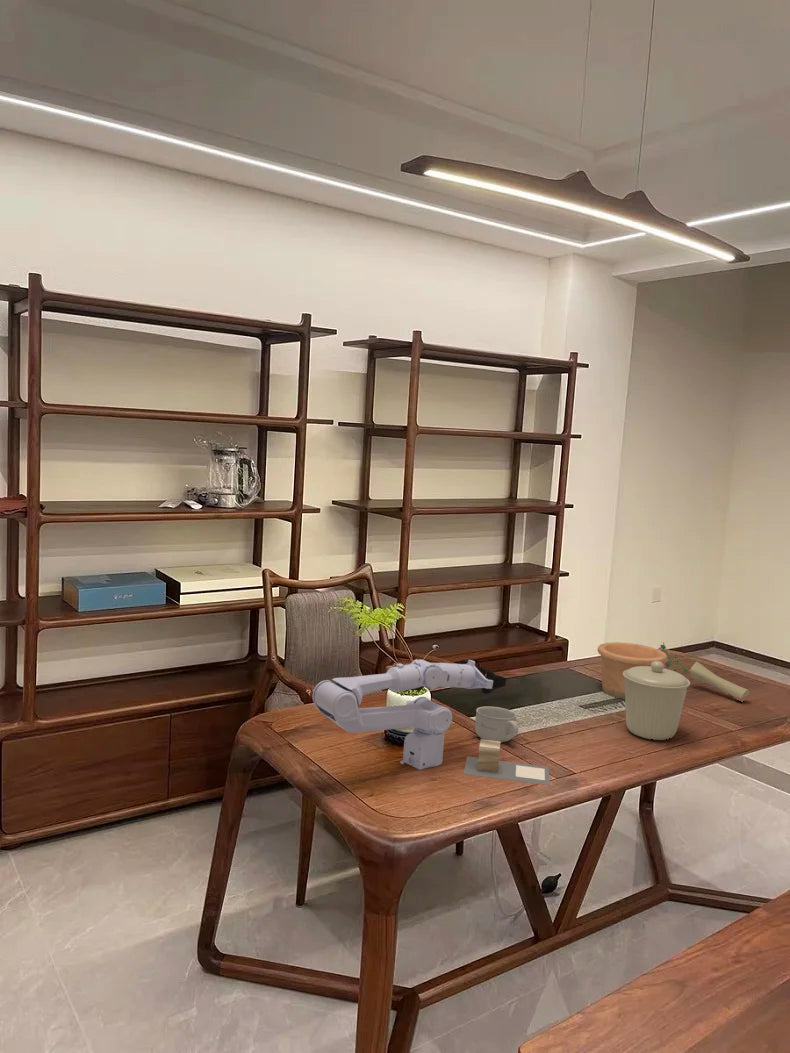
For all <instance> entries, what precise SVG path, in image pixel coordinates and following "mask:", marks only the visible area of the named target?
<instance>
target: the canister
mask: <svg viewBox="0 0 790 1053" xmlns="http://www.w3.org/2000/svg"><path fill="white" fill-rule="evenodd" d="M623 676H624V677H625V700H624V701H625V702H624V703H625V705H624V706H625V723H626V727H627V729H628V730H629V732H631V733H632V734H633V735H635V736H637V737H640V738H642V739H646V740H651V739H653V741H666V739H667V740H670V739H672V738H673V737H674V736H675V735H676V733H677V732H678V728H679V725H680V720H681V716H682V712H683V708H684V703H685V699H686V695H687V688H689V687H690V685H691V682H690V679H688V678H686V677H685V675H684V674H681V672H680V673H679V672H678V671H676V672H675V671H672V670H671V669H664V665H663V663H662V662H660V661H654V662H652V663H651V666H637V667H632V668H630V669H628V670H625V671H624V672H623ZM669 738H670V739H669Z"/></svg>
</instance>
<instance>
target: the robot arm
mask: <svg viewBox="0 0 790 1053" xmlns="http://www.w3.org/2000/svg"><path fill="white" fill-rule="evenodd" d="M331 680H332V681H331ZM331 680H329V679H326V680H325V679H324V680H322V681H320V682H318V683H317V685H315V687H314V688H313V690H312V691H313V692H312V694H311V695H312V696H311V697H312V702H313V704H314V705H315V708H316V709H317V711H319V712H320V713H321V714H323V715H324V716H325V717H327V718H328V719H329V720H330V721H331V722H333V723H335V724H336V725H337V726H339V728H340V729H343V730H345V731H346V732H347V733H351V734H353V733H355V734H356V733H366V732H375V731H385V730H386V731H387V730H398V729H405V728H406V729H407V728H408V729H409V728H414V729H413V730H412V731H411V732H409V733H408V734H406V735H405V737H404V742H403V753H402V754H403V755H402V756H403V757H402V760H400V763H399V764H401V765H404V764H407V765H409V766H411V767H413V768H415V769H417V770H419V771H421V770H424V769H426V768H431V767H438V766H440V765H442V764H443V760H444V758H443V756H444V745H445V744H444V742H445V733H447V730H448V729H449V728H450V727H451V724H452V722H453V713H452V711H451V710H450V709H449V708H448V707H445V706H443V705H441V704H439V703H437V702H434V701H433V700H430V699H429V698H428V697H427V696H419V697H417V698H415V699H413V700H409V701H407V702H406V704H402V705H399V704H398V705H389V706H375V707H359V706H361V703H362V700H363V696H364V695H367V694H370V693H375V692H379V691H382V690H386V689H389V690H391V691H392V692H394V693H397V692H402V691H408V690H414V689H418V688H420V687H421V688H422V687H424V688H427V689H429V690H430V691H432V690H435V689H437V688H438V687H440V688H441V687H442V688H459V689H460V688H461V689H462V688H463V689H467V690H473V689H481V693H483V694H485V695H489V694H491V693H493V691H494V690H497V689H500V688H503V687H504V688H505V687H506V685H507V684H506V683H507V677H504V676H501V675H498V674H495V673H494V672H493V671H492V670H489V669H485V668H483V667H480V666H479V667H478V666H476V661H475V660H472V659H468V660H465V659H461V660H460V661H459V663H449V662H430V661H427V660H425V659H421V658H419V659H418V658H416V659H413V661H412V662H411V663H409V664H403V663H401V662H399V663H396V666H393V667H389V668H388V669H387V671H386V673H378V674H367V675H358V676H350V677H349V676H346V677H334V678H331Z"/></svg>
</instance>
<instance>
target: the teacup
mask: <svg viewBox="0 0 790 1053" xmlns="http://www.w3.org/2000/svg"><path fill="white" fill-rule="evenodd" d="M475 712H476V713H475V723H474V724H475V725H474V728H475V729H474V730H475V733H476V736H478V737H479V738H480V740H481V739H484V740H492V741H500V742H501V743H506V742H509V741H510V740H511V739H513V738H515V737H516V736H517V735H518V733H519V725H518V723H517V718H518V715H517V713H516V712H515V711H512V710H510V709H507V708H503V707H499V706H480V707H477V708H476V709H475ZM501 743H500V744H501Z"/></svg>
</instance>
